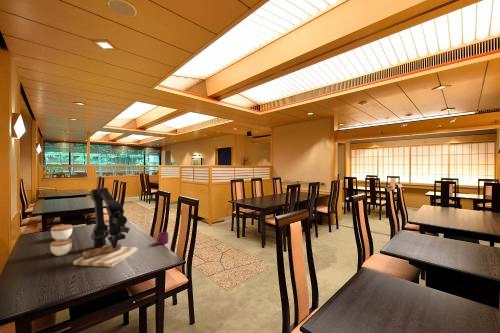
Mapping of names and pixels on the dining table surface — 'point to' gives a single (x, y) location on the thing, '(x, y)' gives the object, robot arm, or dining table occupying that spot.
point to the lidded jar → (61, 246)
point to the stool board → (107, 257)
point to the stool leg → (100, 250)
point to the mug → (162, 238)
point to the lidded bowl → (61, 231)
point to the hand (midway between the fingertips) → (114, 248)
